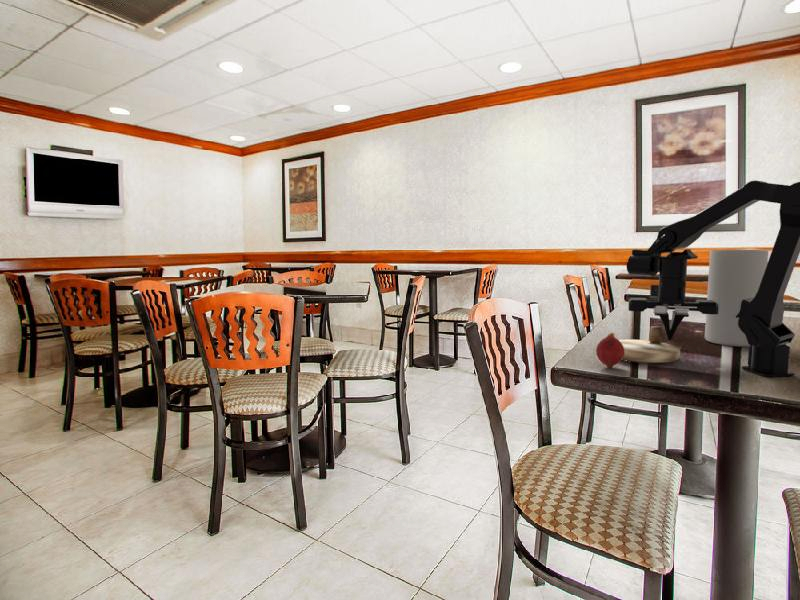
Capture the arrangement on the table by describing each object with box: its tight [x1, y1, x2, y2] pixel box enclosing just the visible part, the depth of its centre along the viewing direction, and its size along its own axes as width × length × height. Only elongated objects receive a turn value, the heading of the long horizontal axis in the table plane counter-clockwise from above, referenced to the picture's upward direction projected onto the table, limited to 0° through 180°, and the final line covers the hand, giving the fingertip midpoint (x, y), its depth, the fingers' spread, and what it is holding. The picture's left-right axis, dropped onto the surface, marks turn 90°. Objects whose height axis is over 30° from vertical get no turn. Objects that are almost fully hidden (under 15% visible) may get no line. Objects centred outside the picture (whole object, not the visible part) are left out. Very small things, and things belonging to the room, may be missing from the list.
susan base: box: [622, 359, 668, 365], centre depth 112 cm, size 12×12×1 cm
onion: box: [595, 332, 624, 368], centre depth 103 cm, size 6×6×8 cm
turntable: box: [618, 325, 681, 363], centre depth 111 cm, size 16×16×6 cm
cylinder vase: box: [704, 249, 769, 348], centre depth 124 cm, size 12×12×25 cm
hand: (669, 339), depth 114 cm, fingers closed
